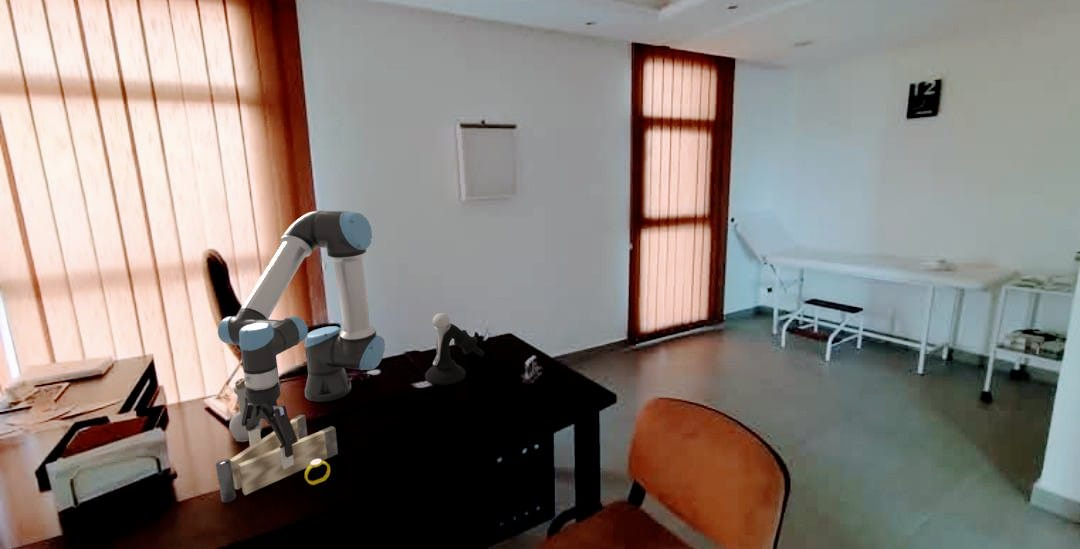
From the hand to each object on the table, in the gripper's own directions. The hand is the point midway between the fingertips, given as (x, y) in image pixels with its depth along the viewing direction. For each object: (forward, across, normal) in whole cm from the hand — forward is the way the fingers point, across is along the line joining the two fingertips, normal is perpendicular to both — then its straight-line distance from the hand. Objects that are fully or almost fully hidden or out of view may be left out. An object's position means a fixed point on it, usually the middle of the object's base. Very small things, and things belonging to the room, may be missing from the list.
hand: (272, 458), depth 134 cm
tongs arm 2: (+4, +4, +3) cm, 6 cm away
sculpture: (+4, +2, +73) cm, 73 cm away
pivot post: (+4, 0, -12) cm, 13 cm away
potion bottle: (+4, -24, +7) cm, 26 cm away
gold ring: (+5, +13, +4) cm, 14 cm away
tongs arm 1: (+4, -4, +3) cm, 6 cm away
